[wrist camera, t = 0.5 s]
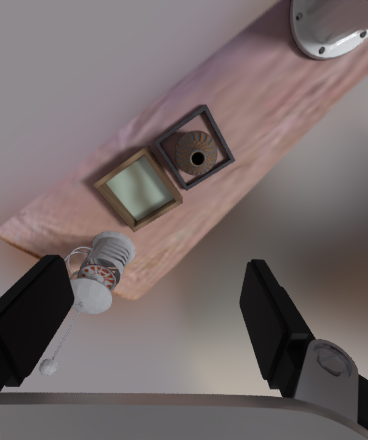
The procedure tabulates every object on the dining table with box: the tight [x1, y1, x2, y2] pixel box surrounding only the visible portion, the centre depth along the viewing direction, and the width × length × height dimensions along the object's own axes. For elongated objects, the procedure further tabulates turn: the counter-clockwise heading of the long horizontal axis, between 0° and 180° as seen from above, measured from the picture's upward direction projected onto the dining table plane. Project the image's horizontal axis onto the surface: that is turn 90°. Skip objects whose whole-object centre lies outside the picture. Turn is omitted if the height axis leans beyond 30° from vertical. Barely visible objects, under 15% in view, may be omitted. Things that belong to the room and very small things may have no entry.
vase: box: [175, 131, 217, 175], centre depth 32 cm, size 7×7×9 cm
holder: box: [93, 146, 183, 232], centre depth 38 cm, size 12×12×3 cm
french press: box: [39, 231, 135, 376], centre depth 34 cm, size 10×12×25 cm
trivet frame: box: [154, 105, 235, 191], centre depth 35 cm, size 10×10×1 cm
